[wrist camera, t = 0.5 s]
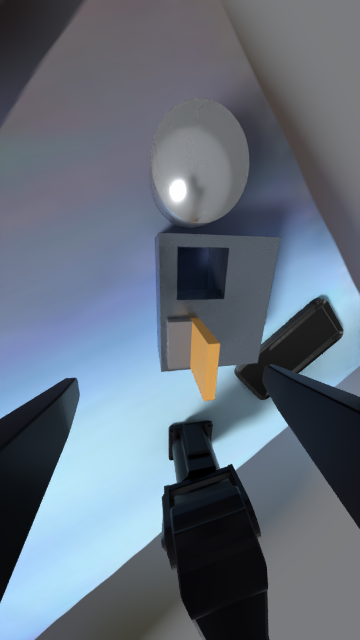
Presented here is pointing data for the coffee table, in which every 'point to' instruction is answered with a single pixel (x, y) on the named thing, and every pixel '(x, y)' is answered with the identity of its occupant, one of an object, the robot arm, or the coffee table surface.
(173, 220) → the grey rounded piece
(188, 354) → the grey orange block
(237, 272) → the hitch block
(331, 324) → the phone
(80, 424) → the coffee table surface
